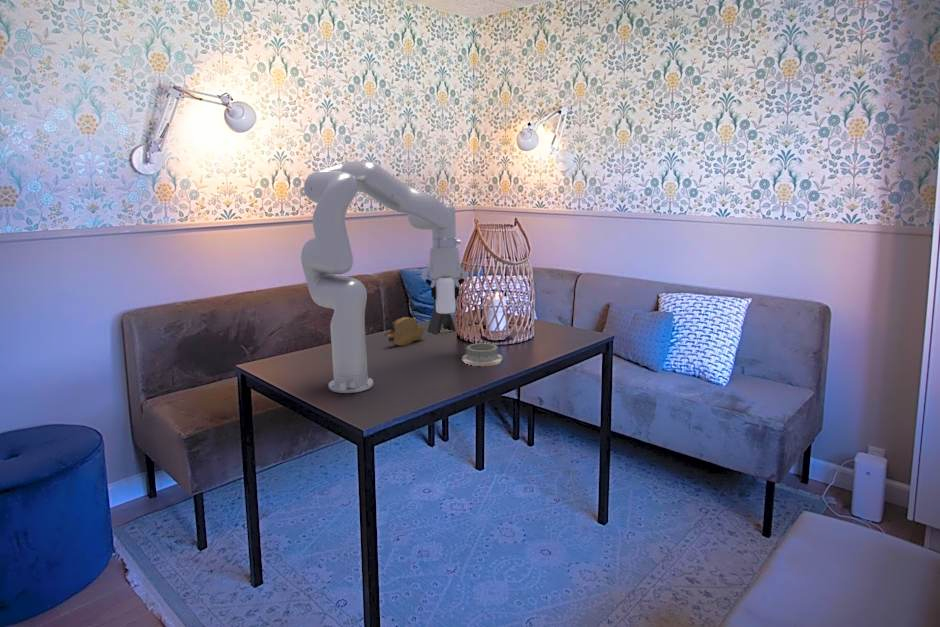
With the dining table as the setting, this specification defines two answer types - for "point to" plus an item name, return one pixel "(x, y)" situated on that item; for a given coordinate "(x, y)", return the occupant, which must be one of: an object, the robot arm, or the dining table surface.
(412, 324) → the wooden carving
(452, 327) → the phone stand
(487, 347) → the cup holder
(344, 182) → the robot arm
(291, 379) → the dining table surface
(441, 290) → the can
